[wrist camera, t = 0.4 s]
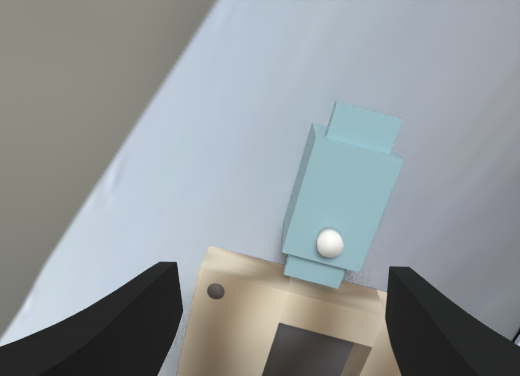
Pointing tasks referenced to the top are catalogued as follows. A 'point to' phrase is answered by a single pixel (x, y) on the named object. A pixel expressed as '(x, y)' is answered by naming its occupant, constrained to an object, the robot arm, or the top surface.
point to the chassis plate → (281, 324)
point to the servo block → (340, 194)
